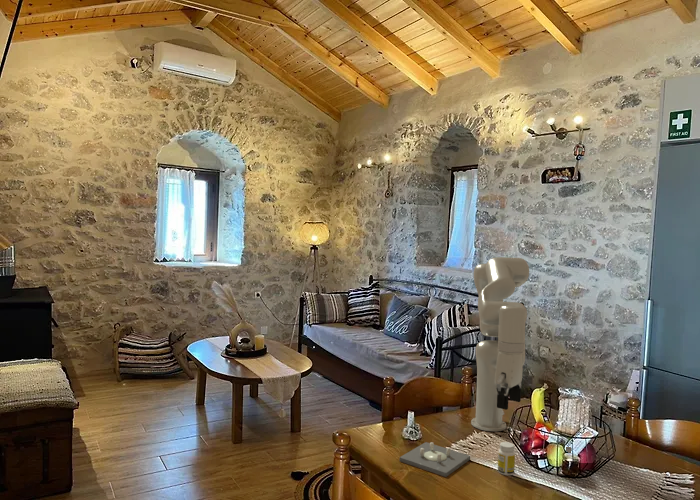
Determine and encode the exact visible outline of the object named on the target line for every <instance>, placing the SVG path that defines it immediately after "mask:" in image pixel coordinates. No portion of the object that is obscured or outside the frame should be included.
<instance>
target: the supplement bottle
mask: <svg viewBox="0 0 700 500" xmlns="http://www.w3.org/2000/svg"><path fill="white" fill-rule="evenodd" d="M514 449H515V445H514V444H513V443H512V442H509V441H502V442H499V449H498V454H497V455H498V456H497V472H498V473H499V474H501V475H504V476H513V475H514V474H515V465H516V464H515V463H516V453H515V450H514Z"/></svg>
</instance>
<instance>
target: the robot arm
mask: <svg viewBox="0 0 700 500" xmlns="http://www.w3.org/2000/svg"><path fill="white" fill-rule="evenodd" d="M529 276H530V266H529V264H528V262H527V260H526V259H524V258H522V257H508V256H507V257H506V256H504V257H503V256H498V257H497V256H496V257H492V258H490V259H489V260H488V261H487V262H486V263H480V264H477V265H476V266H475V267H474V269H473V281H474V285H475V286H474V287H475V289H476V292H477V295H478V299H477V311H478V316H479V317H478V318H479V330H480V333H481V335H483V336H484V337H492V338H497V340H491V339H490V340H489V339H487V340H483V341H482V340H481V341H480V342H478V343H477V344H476V347H475V361H476V374H477V375H476V398H475V399H476V400H475V417H473V418H472V419H471V421H470V424H471V425H472V427H473V428H476V429H478V430H481V431H486V432H502V431H505V430H506V429H507V424H506V423H507V422H505V421H503V415H505V411H504V410H509V400H510V401H512V402H516V403H521V401H522V400H521V399H522V395H521V394H522V381H523V370H524V369H523V367H524V365H525V362H526V342H525V341H526V321H527V319H528V311H527V308H526V307H525V305H524V304H523V303H521V302H518V301H517V302H516V301H504V300H505V299H507V298H510V297H511V296H512V295H513V294H514V293H515V290H516V288H519V287H521V286H523V285H524V284H525V283H526V282H527V281H528V279H529ZM508 394H509V395H508Z"/></svg>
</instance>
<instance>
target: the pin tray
mask: <svg viewBox="0 0 700 500" xmlns="http://www.w3.org/2000/svg"><path fill="white" fill-rule="evenodd" d="M434 443H435V442H432V441H431V442H427V441H425V442H424V443H422V444H420V445H418V446H416V447H415V448H413V449H412V450H410V451H408V452H406V453H404V454H403V455H401V456H399V462H401V463H404V464H407V465H410V466H412V467H416V468H419V469H421V470H424V471H427V472H431V473H433V474H436V475H438V476H440V477H445V478H447V477H449V476H450V475H451V474H452V473H453V472H455V471H456V470H458V469H459V468H460V467H462V466H463V465H465V464H466V463H467V462H469V461H471V455H469V454H466V453H462V452H459V451H456V450H452V449H451V447H443V446H440V445H437V444H434Z"/></svg>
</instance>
